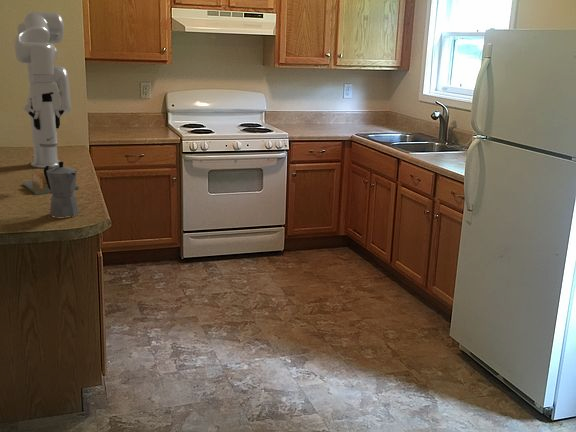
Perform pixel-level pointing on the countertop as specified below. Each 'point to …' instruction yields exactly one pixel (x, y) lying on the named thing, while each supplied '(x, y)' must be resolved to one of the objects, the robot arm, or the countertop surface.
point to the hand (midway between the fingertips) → (47, 128)
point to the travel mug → (47, 122)
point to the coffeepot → (62, 190)
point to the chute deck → (39, 184)
